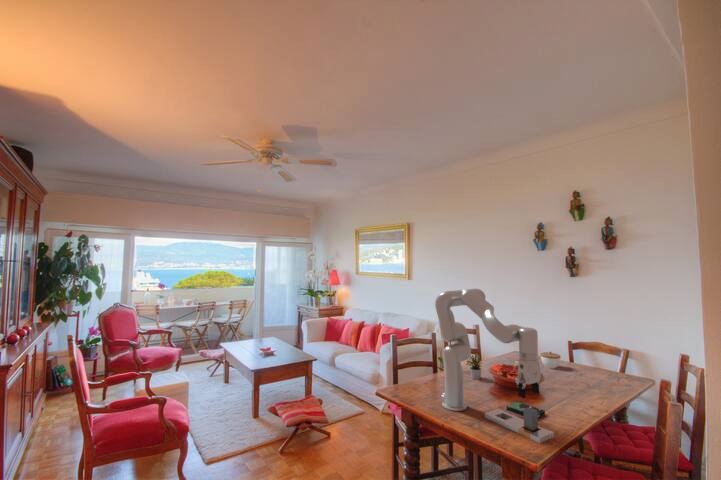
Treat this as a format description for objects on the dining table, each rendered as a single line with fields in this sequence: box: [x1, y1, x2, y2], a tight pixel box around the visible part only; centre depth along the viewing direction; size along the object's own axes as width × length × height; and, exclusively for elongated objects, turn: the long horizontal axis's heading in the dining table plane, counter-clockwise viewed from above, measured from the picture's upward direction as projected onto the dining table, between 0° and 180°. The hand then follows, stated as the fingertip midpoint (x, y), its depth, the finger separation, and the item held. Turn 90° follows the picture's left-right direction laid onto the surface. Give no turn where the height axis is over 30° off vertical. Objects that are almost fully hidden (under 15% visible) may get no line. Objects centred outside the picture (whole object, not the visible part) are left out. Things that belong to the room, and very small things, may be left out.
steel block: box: [523, 407, 539, 433], centre depth 151 cm, size 4×4×10 cm
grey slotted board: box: [484, 408, 555, 444], centre depth 156 cm, size 28×10×2 cm, turn 30°
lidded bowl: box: [540, 351, 561, 370], centre depth 248 cm, size 13×13×11 cm
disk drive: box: [505, 401, 546, 420], centre depth 172 cm, size 10×3×15 cm
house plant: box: [465, 352, 484, 380], centre depth 226 cm, size 14×14×16 cm
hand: (528, 395), depth 152 cm, fingers open, 9 cm apart
